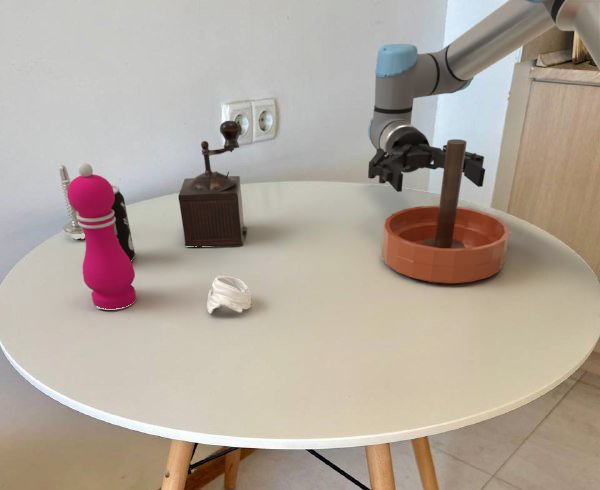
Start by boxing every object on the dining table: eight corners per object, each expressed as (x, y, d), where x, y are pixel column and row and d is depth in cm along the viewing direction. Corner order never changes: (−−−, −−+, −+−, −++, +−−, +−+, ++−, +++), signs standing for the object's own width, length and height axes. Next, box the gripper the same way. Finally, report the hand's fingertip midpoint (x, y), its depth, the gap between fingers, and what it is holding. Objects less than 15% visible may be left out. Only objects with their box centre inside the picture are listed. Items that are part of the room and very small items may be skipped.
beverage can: (123, 250, 104) (109, 181, 97) (143, 261, 101) (129, 189, 93) (89, 261, 101) (71, 190, 94) (107, 272, 97) (91, 199, 90)
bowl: (528, 272, 95) (536, 236, 91) (425, 297, 88) (430, 259, 85) (453, 231, 109) (458, 199, 105) (360, 251, 102) (362, 216, 99)
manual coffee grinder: (246, 246, 105) (238, 138, 94) (184, 248, 105) (169, 140, 94) (248, 216, 117) (241, 117, 106) (192, 217, 117) (180, 119, 106)
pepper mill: (80, 308, 87) (42, 168, 75) (109, 287, 93) (79, 154, 81) (121, 316, 85) (89, 173, 73) (149, 295, 90) (123, 158, 78)
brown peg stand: (471, 260, 97) (491, 143, 86) (436, 268, 94) (451, 149, 84) (446, 245, 102) (461, 133, 91) (411, 252, 100) (423, 139, 89)
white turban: (206, 301, 90) (200, 271, 88) (250, 293, 91) (244, 263, 88) (209, 323, 84) (202, 291, 81) (256, 314, 84) (250, 282, 82)
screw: (73, 244, 107) (61, 237, 110) (97, 237, 110) (85, 230, 112) (54, 170, 99) (42, 164, 102) (81, 164, 102) (68, 159, 105)
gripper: (464, 164, 115) (510, 199, 99) (339, 171, 113) (364, 208, 96) (470, 122, 111) (519, 152, 94) (340, 129, 108) (366, 160, 92)
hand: (441, 180), depth 95 cm, fingers open, 13 cm apart
